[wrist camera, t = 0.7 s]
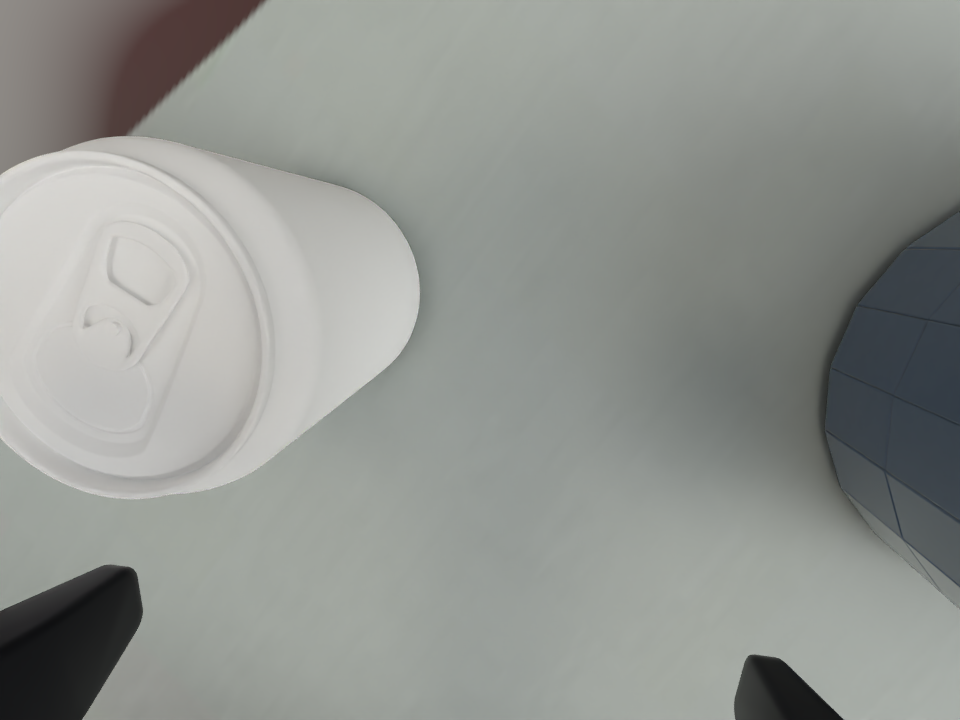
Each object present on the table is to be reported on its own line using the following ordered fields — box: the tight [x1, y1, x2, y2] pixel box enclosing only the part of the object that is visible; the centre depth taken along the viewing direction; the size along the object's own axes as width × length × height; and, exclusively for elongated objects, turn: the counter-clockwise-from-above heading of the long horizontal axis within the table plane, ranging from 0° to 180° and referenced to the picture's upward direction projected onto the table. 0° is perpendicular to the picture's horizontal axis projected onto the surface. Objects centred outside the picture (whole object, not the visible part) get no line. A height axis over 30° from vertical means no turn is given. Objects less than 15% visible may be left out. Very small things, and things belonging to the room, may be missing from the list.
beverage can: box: [0, 136, 420, 499], centre depth 17 cm, size 8×8×12 cm
